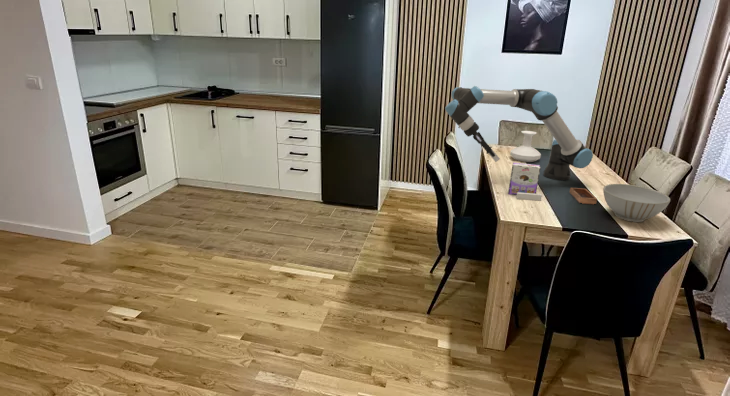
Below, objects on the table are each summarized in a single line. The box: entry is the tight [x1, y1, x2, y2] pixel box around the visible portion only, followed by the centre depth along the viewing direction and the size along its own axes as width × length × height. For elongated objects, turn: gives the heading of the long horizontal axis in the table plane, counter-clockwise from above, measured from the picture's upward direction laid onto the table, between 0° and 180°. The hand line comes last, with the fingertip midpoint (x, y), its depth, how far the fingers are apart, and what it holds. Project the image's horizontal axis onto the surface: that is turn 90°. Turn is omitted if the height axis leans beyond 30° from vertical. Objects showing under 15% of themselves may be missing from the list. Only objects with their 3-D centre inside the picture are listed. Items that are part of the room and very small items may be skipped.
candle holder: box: [509, 130, 542, 163], centre depth 290 cm, size 20×20×19 cm
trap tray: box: [569, 187, 598, 205], centre depth 222 cm, size 8×16×3 cm, turn 173°
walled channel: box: [515, 192, 543, 201], centre depth 225 cm, size 12×16×3 cm
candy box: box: [507, 162, 541, 196], centre depth 223 cm, size 14×6×16 cm, turn 71°
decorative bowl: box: [602, 183, 671, 223], centre depth 199 cm, size 27×27×12 cm
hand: (497, 159), depth 221 cm, fingers closed
